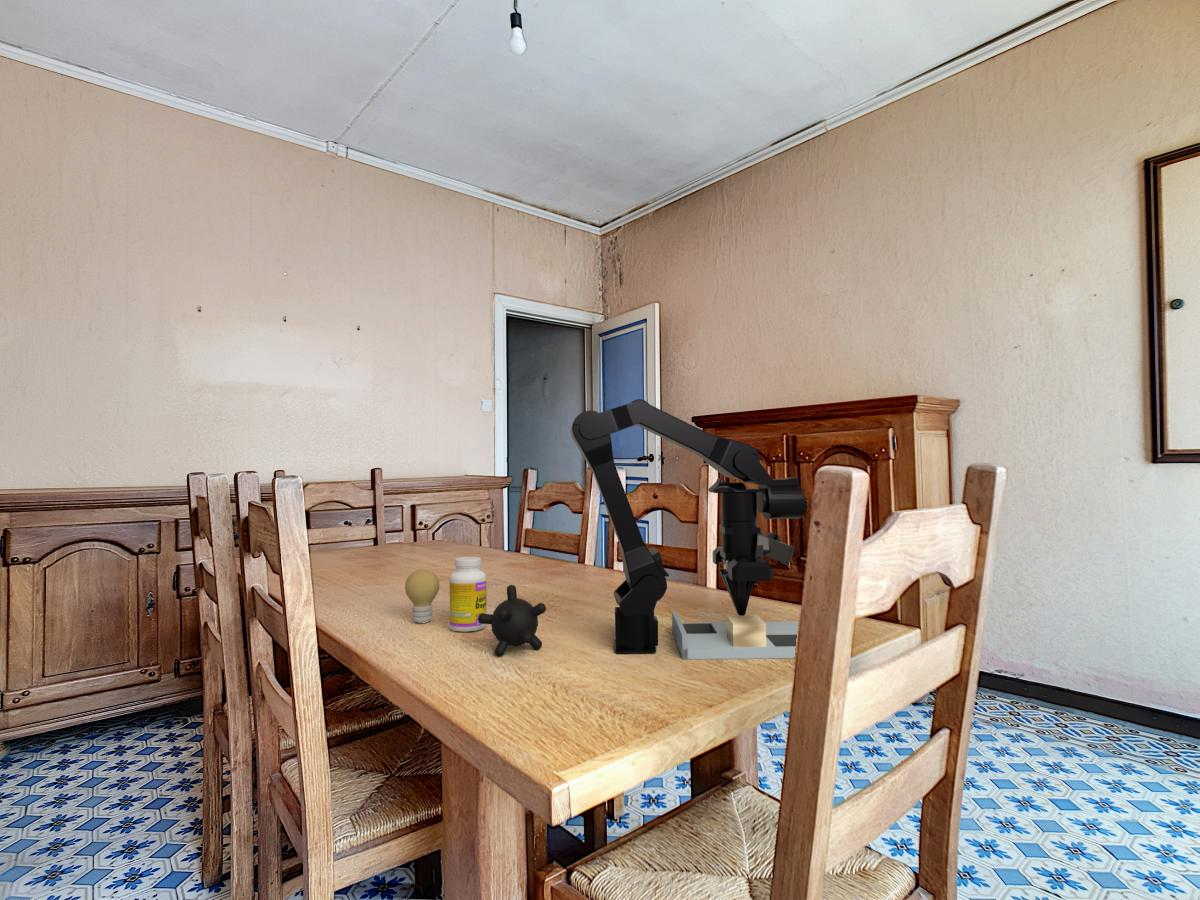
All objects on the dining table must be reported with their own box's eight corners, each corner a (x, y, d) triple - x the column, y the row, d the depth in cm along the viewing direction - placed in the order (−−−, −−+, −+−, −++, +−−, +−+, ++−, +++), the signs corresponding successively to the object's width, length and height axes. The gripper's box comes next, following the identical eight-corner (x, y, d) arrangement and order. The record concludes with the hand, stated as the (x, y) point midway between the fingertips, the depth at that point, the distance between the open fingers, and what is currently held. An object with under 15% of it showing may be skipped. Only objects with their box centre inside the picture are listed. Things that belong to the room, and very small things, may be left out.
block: (733, 646, 92) (732, 623, 92) (726, 637, 97) (726, 615, 97) (766, 646, 92) (765, 623, 92) (758, 637, 97) (757, 615, 97)
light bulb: (405, 619, 119) (404, 568, 119) (439, 616, 121) (438, 566, 121) (405, 627, 113) (404, 573, 113) (440, 624, 114) (440, 571, 115)
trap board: (682, 659, 92) (682, 635, 92) (672, 632, 107) (671, 611, 107) (835, 657, 92) (834, 633, 92) (803, 630, 107) (802, 609, 107)
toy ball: (482, 648, 89) (458, 611, 99) (524, 684, 94) (497, 645, 105) (534, 595, 92) (505, 564, 102) (572, 633, 97) (541, 600, 107)
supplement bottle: (478, 634, 107) (477, 561, 108) (443, 632, 109) (442, 560, 109) (492, 624, 114) (491, 555, 114) (459, 623, 115) (458, 555, 116)
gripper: (806, 524, 91) (809, 630, 90) (773, 514, 109) (775, 601, 109) (731, 526, 91) (733, 630, 90) (711, 515, 109) (713, 602, 109)
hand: (741, 615), depth 100 cm, fingers closed
